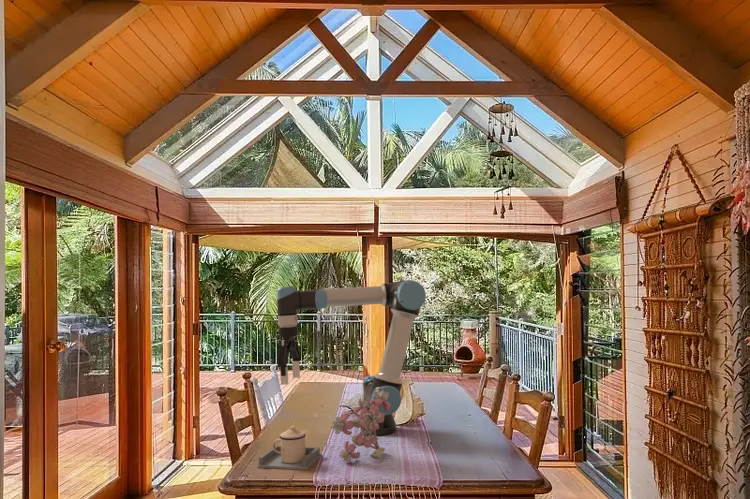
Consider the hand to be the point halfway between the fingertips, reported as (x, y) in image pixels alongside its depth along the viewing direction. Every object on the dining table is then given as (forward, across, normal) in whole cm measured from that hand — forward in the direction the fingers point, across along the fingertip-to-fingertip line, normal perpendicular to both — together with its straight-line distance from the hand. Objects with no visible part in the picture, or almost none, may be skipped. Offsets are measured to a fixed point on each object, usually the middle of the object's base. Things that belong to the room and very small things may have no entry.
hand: (290, 381), depth 219 cm
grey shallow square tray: (+26, -16, -4) cm, 30 cm away
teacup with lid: (+25, -17, -4) cm, 30 cm away
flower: (+26, -12, -30) cm, 41 cm away
